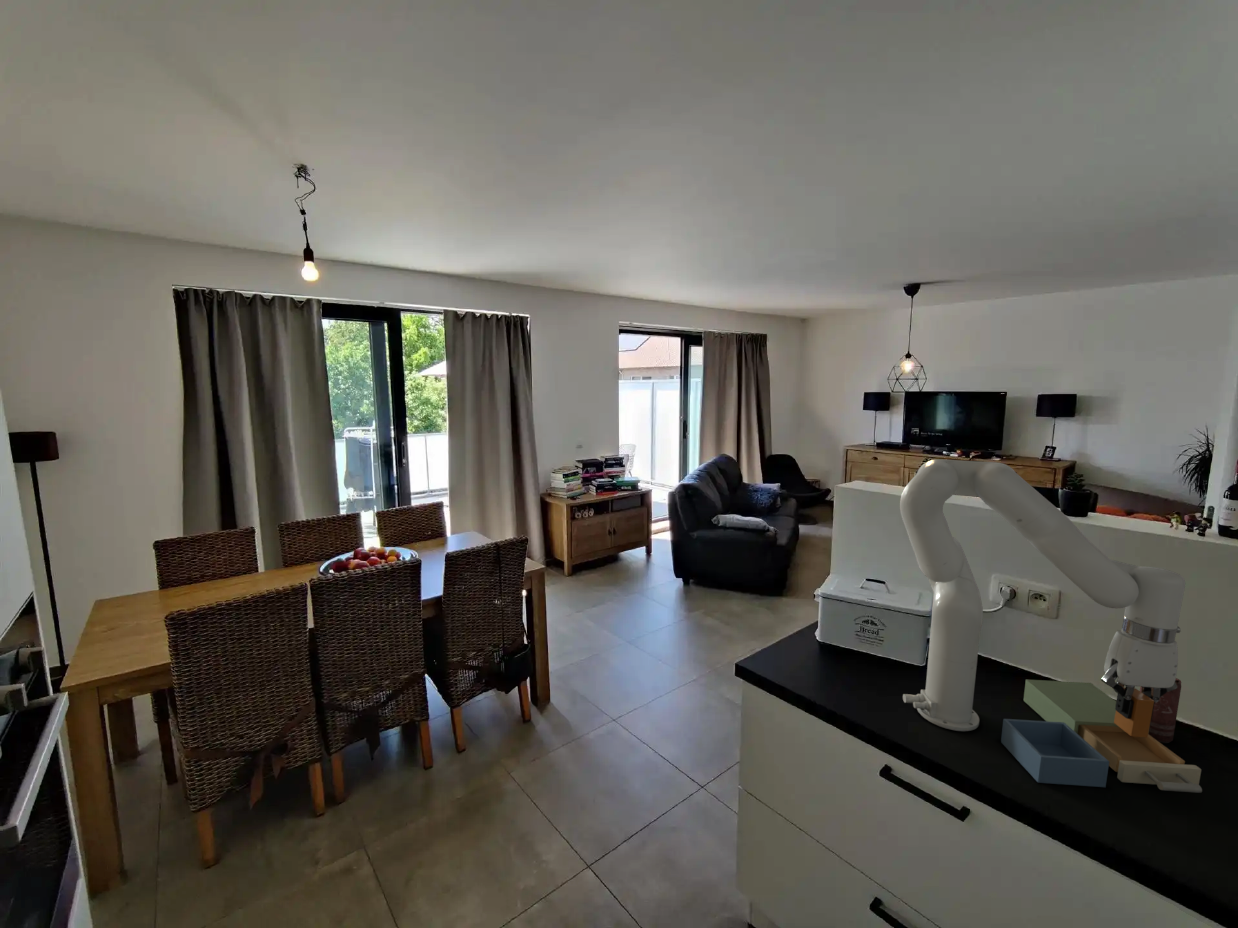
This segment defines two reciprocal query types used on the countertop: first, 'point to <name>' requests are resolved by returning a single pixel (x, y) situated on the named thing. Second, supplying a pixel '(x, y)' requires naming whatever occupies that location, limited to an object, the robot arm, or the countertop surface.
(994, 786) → the countertop surface
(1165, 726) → the can
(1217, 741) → the countertop surface
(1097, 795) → the countertop surface
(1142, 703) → the orange brown brick
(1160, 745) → the drawer
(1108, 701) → the cabinet
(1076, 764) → the bin
